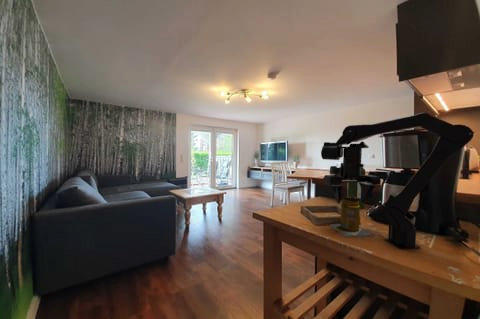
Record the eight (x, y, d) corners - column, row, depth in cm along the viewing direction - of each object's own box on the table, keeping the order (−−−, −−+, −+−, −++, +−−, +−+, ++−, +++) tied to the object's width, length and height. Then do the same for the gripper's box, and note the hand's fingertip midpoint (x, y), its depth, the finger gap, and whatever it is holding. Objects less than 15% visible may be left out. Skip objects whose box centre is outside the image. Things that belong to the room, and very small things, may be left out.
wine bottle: (351, 203, 110) (353, 149, 108) (367, 207, 103) (369, 149, 102) (344, 206, 105) (345, 149, 103) (360, 209, 99) (362, 149, 97)
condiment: (362, 229, 74) (364, 197, 73) (355, 236, 68) (357, 201, 67) (342, 223, 79) (342, 193, 78) (333, 229, 73) (334, 197, 72)
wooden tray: (360, 224, 80) (360, 216, 80) (316, 225, 79) (316, 218, 78) (337, 211, 96) (337, 205, 96) (300, 212, 95) (300, 206, 95)
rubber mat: (372, 236, 69) (372, 234, 69) (345, 237, 68) (345, 235, 68) (354, 225, 79) (354, 223, 79) (329, 225, 78) (329, 224, 78)
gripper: (361, 159, 81) (359, 197, 82) (316, 159, 80) (315, 197, 80) (383, 161, 70) (380, 205, 71) (331, 161, 68) (330, 205, 69)
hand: (350, 203), depth 73 cm, fingers open, 9 cm apart
